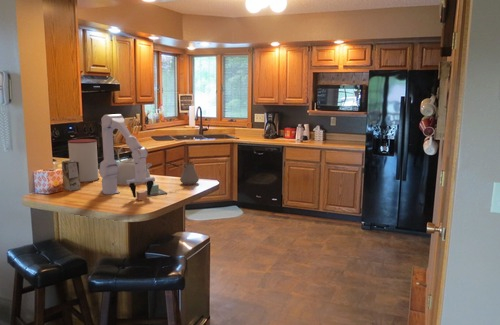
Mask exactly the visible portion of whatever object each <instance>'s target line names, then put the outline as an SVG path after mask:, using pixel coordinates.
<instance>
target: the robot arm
mask: <svg viewBox="0 0 500 325" xmlns="http://www.w3.org/2000/svg"><path fill="white" fill-rule="evenodd" d="M115 129H116V130H118V132H120V134H121V135H122V136H123V138H124V139H125V144H126V146H127V145H128V148H129V150H130V151H131V154H132V159H133V160H134V163H135V179H132V180H127V184H128V187H129V189H130V191H131V194H132V197H133V198H134V199H135V198H137V193H136V188H137V184H135V183H142V184H144V183H143V182H146V189H147V190H146V191H147V195H150V192H151V189H152V186H153V184H155V181H156V178H155V177H154V176H150V177H149V178H146V164H147V158H148V156H149V151H148V149H147V148H146V147H145V146H143V145H142V144H141V142H139V140H138V138H137V137H136V136H134V135H132V134H131V132H130V130H129V128H128V127H127V125H126V123H125V118H124V116H123V115H122V114H121V113H115V114H104V115H103V116H102V117H101V135H102V151H103V152H102V153H103V160H102V161H101V162H100V163H99V167H98V175H99V176H100V177H101V187H102V188H101V189H102V190H100V192H101V193H102V194H104V195H105V196H106V195H113V194H114V195H115V194H119V193H120V191H118V184H117V176H118V174H119V166H118V164H119V162H118V161H117V160H116V159H115V152H114V150H115V149H114V135H113V133H114V131H115Z"/></svg>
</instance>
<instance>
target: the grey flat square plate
mask: <svg viewBox="0 0 500 325" xmlns="http://www.w3.org/2000/svg"><path fill="white" fill-rule="evenodd" d="M145 191H146V192H147V190H145ZM162 195H168V192H167V191H164V190H163V189H161V188H159V192H156V193H151V192H150V195H147V198H148V197H153V196H154V197H155V196H162Z"/></svg>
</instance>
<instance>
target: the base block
mask: <svg viewBox="0 0 500 325" xmlns="http://www.w3.org/2000/svg"><path fill="white" fill-rule="evenodd" d="M159 189H160V188H159V184H157V183H154V184H153V186H152V189H151V193H156V192H159Z"/></svg>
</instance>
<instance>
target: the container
mask: <svg viewBox="0 0 500 325" xmlns="http://www.w3.org/2000/svg"><path fill="white" fill-rule="evenodd" d="M97 142H98V140H97V139H95V138H94V139H93V138H81V139H80V138H79V139H71V140H68V141H67V143H68V144H67V146H68V160H73V161H77V162H79V177H80V184H82V183H83V184H85V183H84V182H88V183H93V181H94V182H97V181H99V180H100V177H99V176H100V175H99V163H98V162H99V161H98V147H97V145H98V143H97Z"/></svg>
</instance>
